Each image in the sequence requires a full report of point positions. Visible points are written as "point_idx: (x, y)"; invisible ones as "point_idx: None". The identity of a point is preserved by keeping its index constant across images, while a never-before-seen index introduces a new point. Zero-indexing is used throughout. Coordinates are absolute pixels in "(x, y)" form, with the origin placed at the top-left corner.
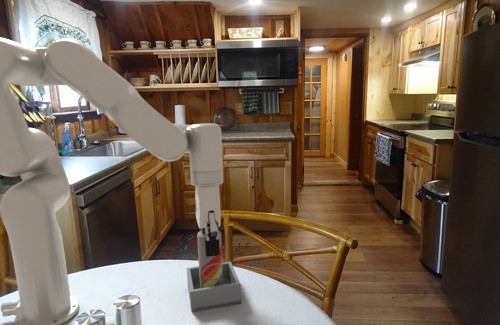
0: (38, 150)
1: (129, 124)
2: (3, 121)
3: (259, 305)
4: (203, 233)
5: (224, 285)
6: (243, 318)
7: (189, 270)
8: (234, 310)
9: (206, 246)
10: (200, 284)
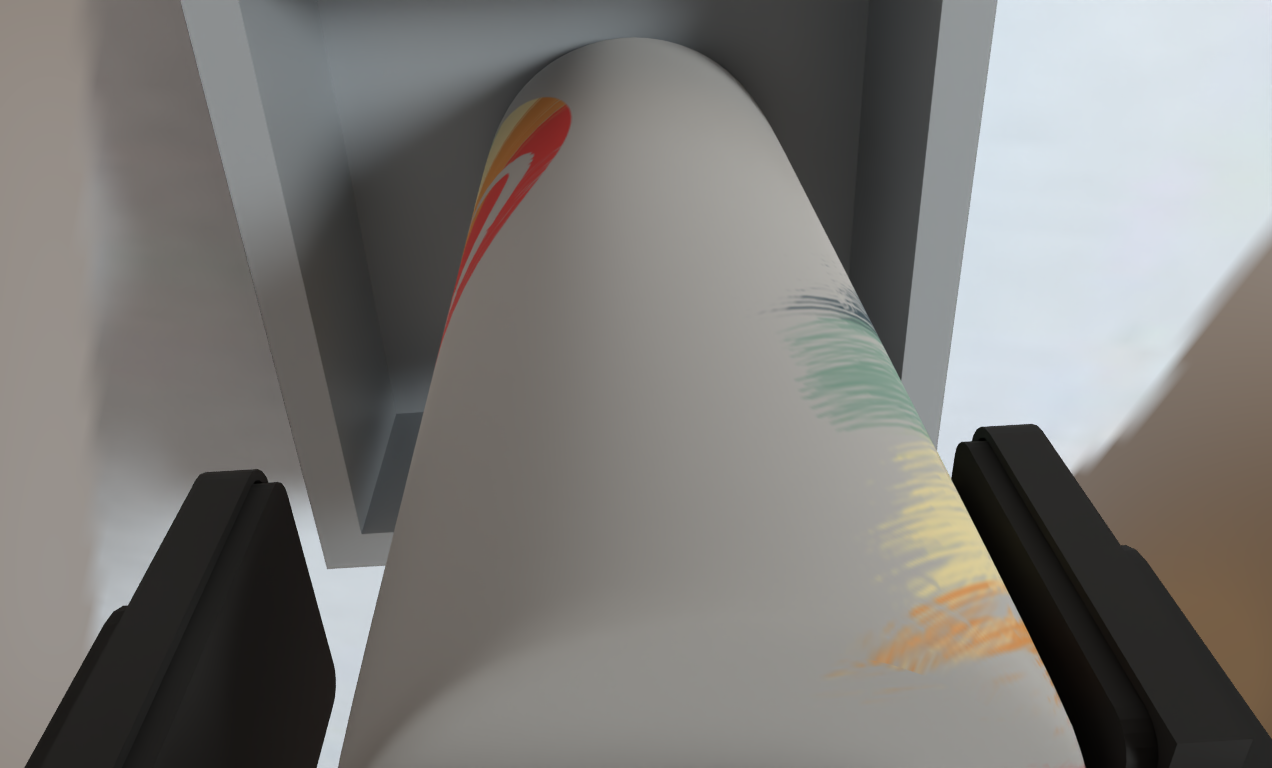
0: None
1: None
2: None
3: (320, 558)
4: None
5: (305, 405)
6: (124, 411)
7: None
8: (258, 353)
9: (118, 667)
10: (598, 66)
